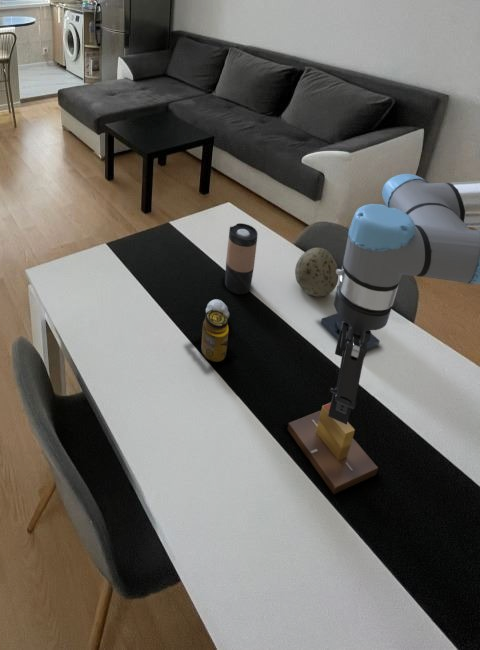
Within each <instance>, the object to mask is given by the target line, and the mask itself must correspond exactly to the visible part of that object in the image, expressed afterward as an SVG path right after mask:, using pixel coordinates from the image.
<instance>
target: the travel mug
mask: <svg viewBox="0 0 480 650" xmlns="http://www.w3.org/2000/svg"><path fill="white" fill-rule="evenodd" d="M257 242H258V231H257V229H256V228H255V227H254V226H252V225H250V224H247V223H241V222H239V223H236V224H235V225H233V226H230V227H229V231H228V241H227V248H226V257H225V258H226V259H225V276H224V286H225V287H226V289H227V290H228V291H230V292H231V293H233V294H235V295H246V294H248V293H249V292H250V291H251V286H252V281H253V276H254V270H255V261H256V253H257V245H258V243H257Z"/></svg>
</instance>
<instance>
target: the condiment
mask: <svg viewBox="0 0 480 650" xmlns="http://www.w3.org/2000/svg"><path fill="white" fill-rule="evenodd" d="M228 324H229V318H228V319H227V316H226V315H225V314H224V313H223V312H221V311H219V310H210V311H208V312H207V313H206V312H205V316H204V320H203V321H202V332H201V333H202V334H201V335H202V336H201V346H200V347H201V349H200V350H201V353H202V355H203V357H204V358H205V359H207V360H208V361H210V362H213V363H219V362H223V361H224V359H225V358H226V357H227V351H228V350H227V349H228V341H229V334H230V333H229V332H230V330H229V325H228Z"/></svg>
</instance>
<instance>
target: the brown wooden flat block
mask: <svg viewBox="0 0 480 650" xmlns="http://www.w3.org/2000/svg"><path fill="white" fill-rule="evenodd" d="M320 414H321V409H320V410H318V411H315V412H313V413H309V414H308V415H305V416H303V417H300V418H298V419H294V420H292V421H290V422H288V423H287V424H288V425H287V431H288V433H289V434H290V436H291V437H292V439H293V440H294V441H295V443H296V444H297V445H298V447H299V448H300V449H301V451H302V453H303V454H304V456H306V458H307V459H308V461H309V462H310V464H311V465H312V467H313V468H314V470H316V472H317V473H318V474H319V476H320V477H321V478H322V481H324V483H325V484H326V486H327V487H328V488H329V490H330V491H331V492H332V494H333V495H336V494H337V493H340V492H342V491H344V490H347V489H349V488H350V487H353V486H355V485H357V484H359V483H361V482H364V481H366V480H368V479H370V478H372V477H375V476H376V475H377V473H378V470H379V467H378V465H376V463H375V462H374V461H373V460H372V458H371V457H370V456H369V455H368V454H367V453H366V451H364V449H363V448H362V447H361V446H360V444H359V443H358V442H357V440H356V439H354V438H353V439H352V442H351V446H350V449H349V453H348V456H347V457H346V458H343V459H341V460H339V461H338V460H337V458H336V457H335V456H334V455H333V453H332V452H331V451H330V449H329V448H328V447H327V445H326V444H325V443H324V442H323V440H322V439H321V438H320V436H319V435H318V434H317V433H316V430H317V426H318V422H319V418H320Z"/></svg>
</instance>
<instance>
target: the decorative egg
mask: <svg viewBox="0 0 480 650" xmlns="http://www.w3.org/2000/svg"><path fill="white" fill-rule="evenodd" d="M337 269H339V268H338V265H337V262H336V259H335V258H334V257H333V255H332V253H330V251H328V250H327V249H325V248H323V247H312V248H310V249H308V250H306V251H305V252H304V253H302V254H301V255H300V256H299V258H298V260H297V262H296V264H295V268H294V275H295V276H294V277H295V280H296V282H297V285H298V286H299V287H300V288H301V290H302V291H304V292H305V293H306V294H307V295H310V296H313V297H317V298H318V297H325V296H328V295H330V294H332V292H333V291H334V290H336V288H337V286H338V283H339V275H337V274H336V270H337Z"/></svg>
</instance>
